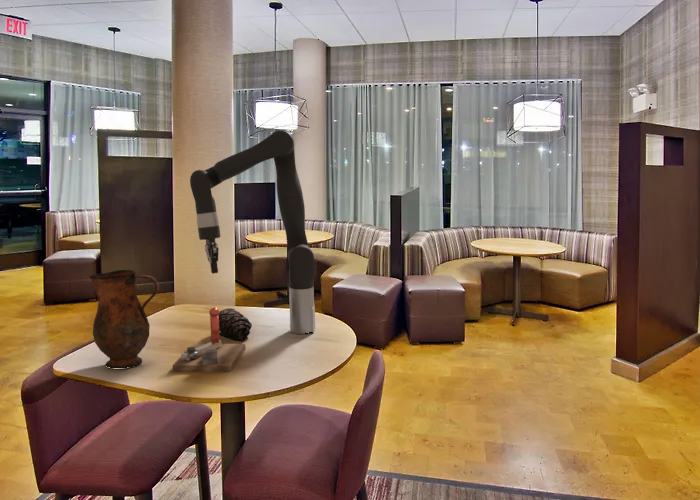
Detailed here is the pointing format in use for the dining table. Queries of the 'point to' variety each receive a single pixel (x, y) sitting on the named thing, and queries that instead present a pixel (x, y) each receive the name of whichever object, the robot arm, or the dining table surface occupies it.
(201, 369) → the base
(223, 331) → the pine cone
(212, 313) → the lever
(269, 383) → the dining table surface
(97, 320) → the pitcher
